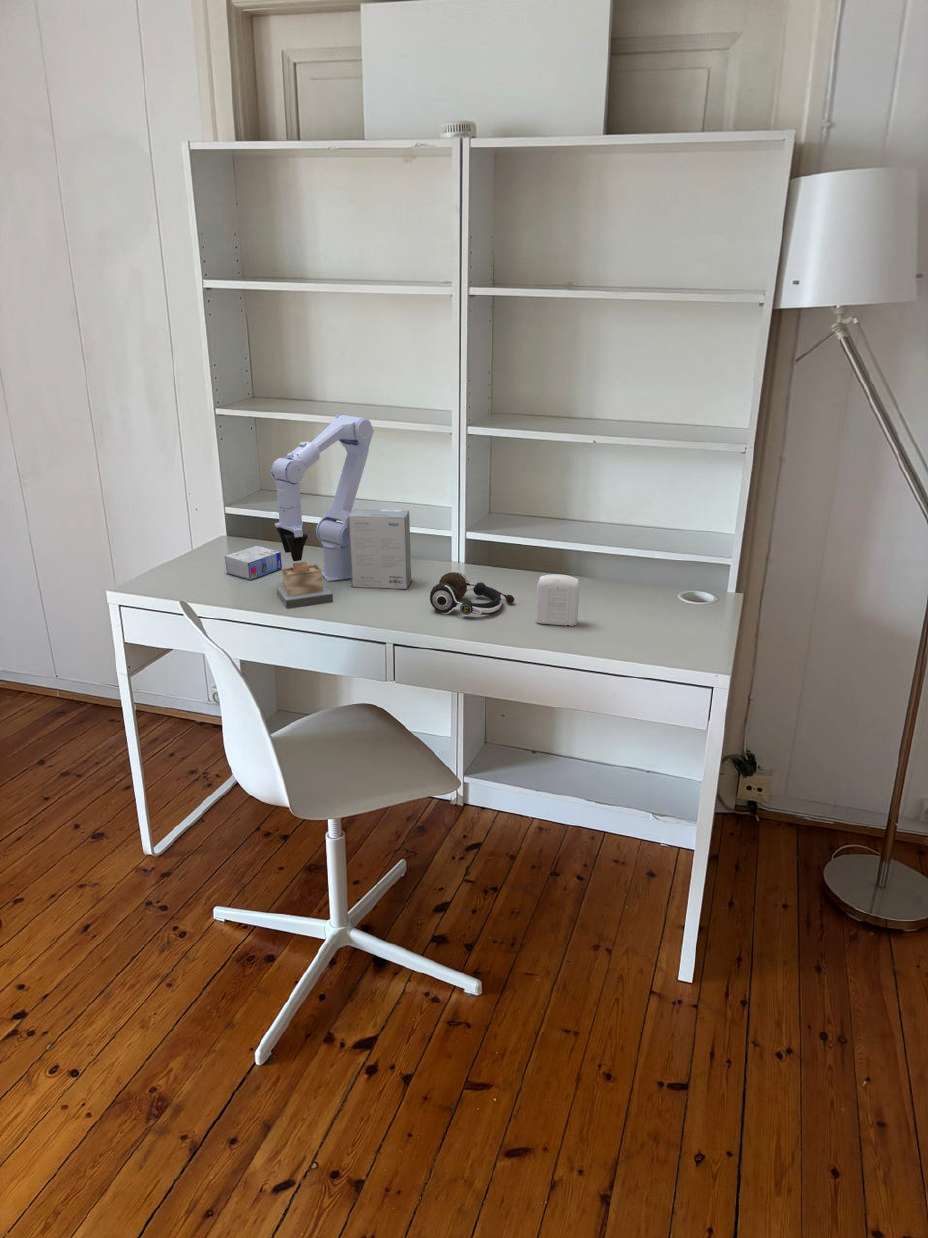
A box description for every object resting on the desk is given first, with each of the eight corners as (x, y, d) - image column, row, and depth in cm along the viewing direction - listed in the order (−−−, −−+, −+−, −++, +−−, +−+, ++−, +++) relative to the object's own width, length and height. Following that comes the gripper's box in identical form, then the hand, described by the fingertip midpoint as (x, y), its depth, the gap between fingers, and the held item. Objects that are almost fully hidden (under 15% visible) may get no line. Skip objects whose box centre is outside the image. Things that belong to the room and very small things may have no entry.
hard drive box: (412, 580, 247) (411, 510, 240) (407, 590, 240) (406, 517, 233) (356, 577, 249) (353, 507, 241) (350, 587, 242) (347, 515, 234)
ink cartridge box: (250, 581, 246) (288, 566, 257) (248, 562, 244) (287, 548, 255) (226, 574, 251) (264, 559, 262) (224, 555, 249) (262, 541, 260)
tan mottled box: (317, 584, 238) (316, 564, 235) (322, 591, 233) (321, 570, 231) (283, 589, 234) (282, 568, 232) (288, 596, 230) (287, 574, 228)
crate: (306, 568, 234) (305, 561, 233) (309, 572, 231) (309, 565, 230) (293, 570, 232) (292, 563, 232) (296, 574, 229) (296, 567, 229)
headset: (446, 563, 236) (520, 581, 233) (442, 590, 239) (514, 608, 236) (428, 585, 221) (506, 604, 217) (423, 613, 224) (501, 632, 221)
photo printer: (577, 620, 221) (580, 573, 216) (577, 627, 217) (579, 579, 213) (536, 618, 223) (537, 570, 218) (534, 624, 219) (536, 576, 214)
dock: (321, 588, 241) (320, 581, 240) (332, 601, 232) (332, 594, 231) (276, 594, 236) (276, 587, 236) (287, 608, 227) (286, 601, 227)
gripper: (266, 500, 234) (270, 550, 239) (281, 514, 222) (285, 566, 227) (293, 497, 237) (296, 546, 242) (309, 511, 225) (312, 562, 230)
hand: (293, 556), depth 235 cm, fingers open, 7 cm apart
